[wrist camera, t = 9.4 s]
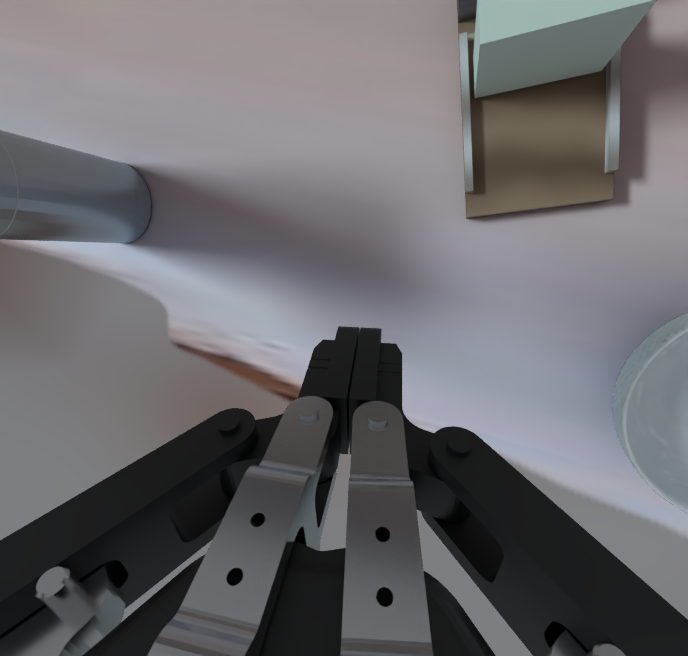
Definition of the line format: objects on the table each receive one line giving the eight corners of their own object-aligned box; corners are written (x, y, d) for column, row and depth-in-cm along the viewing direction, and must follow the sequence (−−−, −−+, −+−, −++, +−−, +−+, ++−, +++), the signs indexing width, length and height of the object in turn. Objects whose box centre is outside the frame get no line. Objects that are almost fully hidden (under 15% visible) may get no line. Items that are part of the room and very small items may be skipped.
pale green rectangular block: (601, 71, 28) (657, -1, 20) (474, 98, 31) (479, 44, 23) (602, 26, 28) (659, -66, 20) (473, 58, 30) (477, -12, 22)
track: (606, 201, 31) (629, 193, 27) (466, 218, 34) (467, 213, 30) (610, -49, 28) (636, -102, 24) (456, -3, 32) (456, -43, 27)
